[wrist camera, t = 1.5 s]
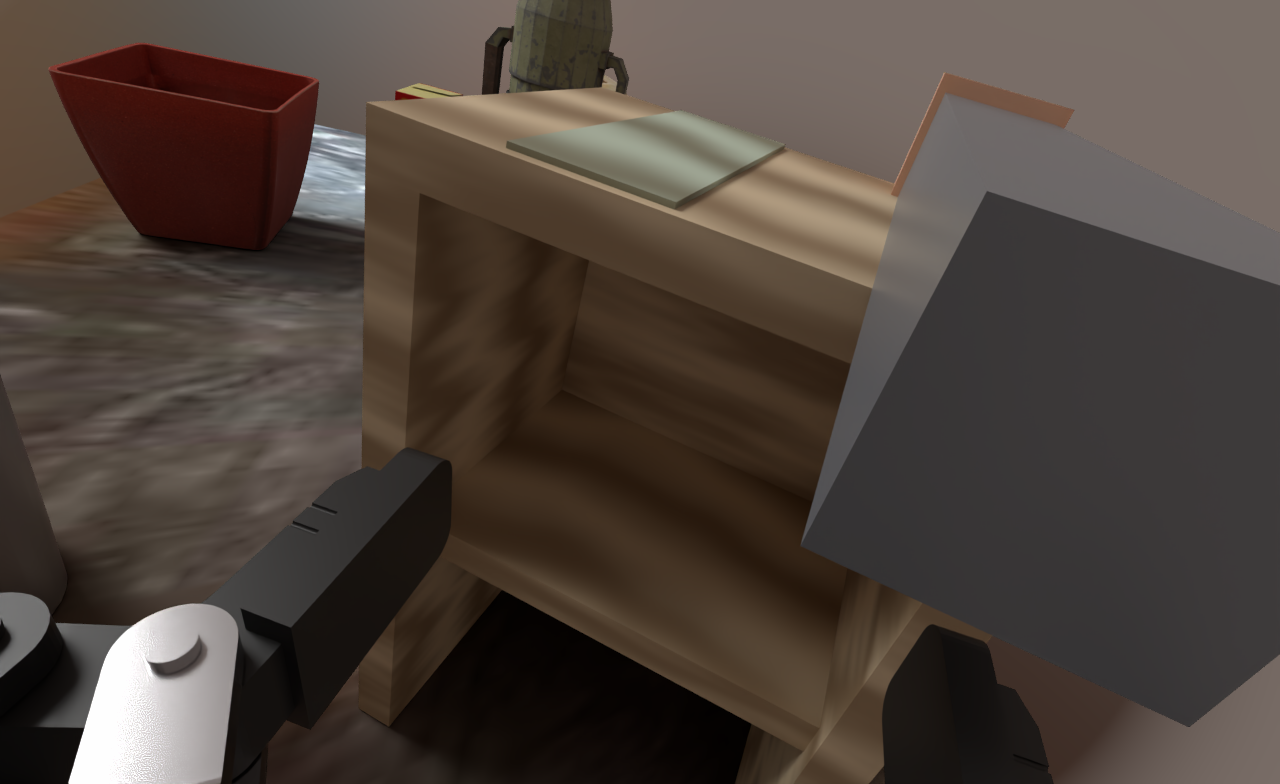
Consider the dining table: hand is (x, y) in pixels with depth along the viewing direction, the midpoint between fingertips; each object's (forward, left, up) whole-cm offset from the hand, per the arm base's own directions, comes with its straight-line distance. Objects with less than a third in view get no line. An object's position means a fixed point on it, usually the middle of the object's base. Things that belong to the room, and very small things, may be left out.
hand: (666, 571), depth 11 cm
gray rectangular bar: (-4, +11, +3) cm, 12 cm away
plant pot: (-82, -2, -28) cm, 87 cm away
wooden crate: (-11, +12, -28) cm, 32 cm away
